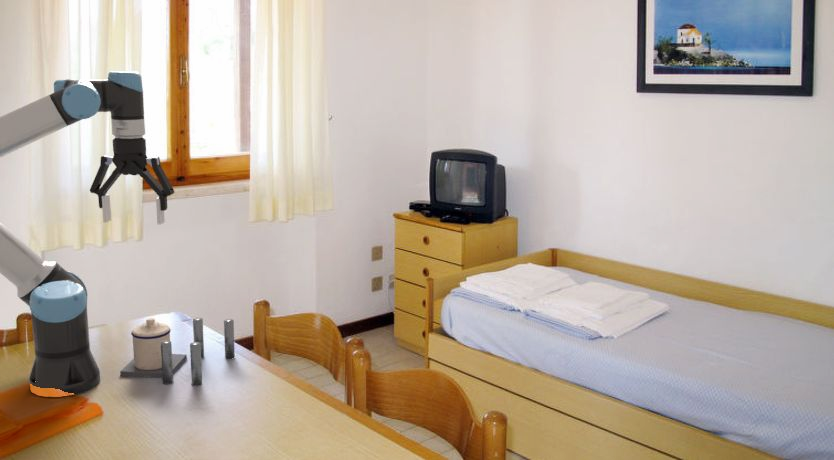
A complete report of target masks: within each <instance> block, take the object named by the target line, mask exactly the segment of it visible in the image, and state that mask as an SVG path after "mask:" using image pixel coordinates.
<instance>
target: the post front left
mask: <svg viewBox="0 0 834 460" xmlns="http://www.w3.org/2000/svg"><path fill="white" fill-rule="evenodd" d="M172 346H173V345H172V341H171V340H170V341H162V342H161V361H162V378H161V379H162V384H163V385H171V384H173V383H174V374H173V366H172V354H173V349H172Z"/></svg>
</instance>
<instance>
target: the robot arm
mask: <svg viewBox="0 0 834 460" xmlns="http://www.w3.org/2000/svg"><path fill="white" fill-rule="evenodd" d="M143 89H144V88H143V80H142V75H141V74H140V73H139V72H138V71H133V70H132V71H131V70H130V71H127V70H124V71H122V70H120V71H119V70H118V71H114V70H112V71H109V72H108V77H107V79H70V78H69V79H68V78H65V79H57V80H55V81H54V82H53V92H52V93H51V94H48V95H46V96H44V97H41V98H39V99H36V100H34V101H32V102H30V103H28V104H26V105H23V106H22V107H19V108H17V109H15V110H12V111H10V112H8V113H6V114H4V115H2V116H1V115H0V158H2V157H4V156H7V155H8V154H11V153H13V152H15V151H17V150H19V149H21V148H24V147H26V146H28V145H30V144H32V143H34V142H36V141H38V140H41V139H43V138H45V137H47V136H49V135H52V134H54V133H55V132H58V131H60V130H62V129H64V128H67V127H68V126H71V125H73V124H76V123H78V122H79V121H82V120H87V119H90V118H91V117H93V116H95V115H97V113H108V112H109V113H110V119H111V134H112V135H113V136H114V137H113V138H112V151H113V156H110V155H109V154H105V155H101V156H100V165H99V168H98V170H97V172H96V175H95V177H94V179H93V182H92V184H91V185H90V189H89V192H90V193H91V194H94V195H97V197H98V207H99V209H102V219H103V223H108V222H110V221H112V211H111V195H110V193H109V194H108V191H109V190H110V189H111V188H112V187H113V185H114V184H115V183H116V181H117V180H118V179H119V177H120V176H122V175H123V176H127V175H128V176H129V175H131V176H139V177H141V178H142V179H143V180H144V181H145V183H146V184H147V185H149V187H150V188H151V189H152V190H153V191H154V193H155V194H156V195H157V196H158V197H156V198H155V204H156V224H157V225H162V224H164V223H165V221H166V220H165V211H166V210H168V197H169V196H172V195H174V194H175V189H174V188H173V186H172V184H171V181H170V180H169V178H168V176H167V174H166V173H165V171H164V169H163V167H162V165H161V164H162V163H161V159H160V156H153V157H147V143H146V141H147V139H146V138H145V135H146V127H145V126H146V125H145V124H146V122H145V110H144V108H145V107H144V106H145V105H144V104H145V103H144V90H143ZM112 163H113V164H114V166H115V168H114V170H113V171H112V172H111V174H110V176H109V177H108V178H107V179H106V180H105V182H104V183H103V181H104V179H105V177H106V174H107V172H108V171H109V170H108V169H109V167H110V165H112ZM148 164H149V166H150V167H151V168H152V170H153V172H154V174H155V176H156V178H157V179H158V181H157V179H156V178H155V177H154V176H153V175H152V174H151V171H150V170H149V169H148V168H147V165H148ZM102 183H103V184H102ZM0 275H2V276H3V277H4V278H6V279H7V280H8V281H9V282H11V284H13V285H14V286H15V287H16V290H17V293H16V294H17V297H18V298H19V299H20V300H21V301H22V302H24V303H25V304H26V305H27V306H28V307H29V310H30V313H31V314H30V316H31V324H32V325H31V326H32V337H33V346H34V347H33V349H34V360H33V364H32V367H31V371H30V375H29V378H28V384H29V383H30V384H32V385H33V386H36V387H40V388H55V389H60V390H62V391H64V392H68V393H74V394H76V395H79V394H83V393H85V392H88V391H90V390H92V389H94V388H95V387H96V386H98V384H99V383H100V382H101V375H100V374H101V371H100V368H99V366H98V363H97V361H96V360H95V358H94V354H92V351H91V347H90V346H91V345H90V331H89V319H88V290H87V287H86V285H85V283H84V282H83V280H82V279H81V278H80V277H79V275H77V274H75V273H73V272H71V271H69V270H66V269H65V268H64V267H62V266H61V265H60V264H59V263H58V262H56V261H55V260H52V261H51V260H44V259H43V258H42V257H41V256H40V255H39V254H37V253H36V252H35V251H34V250H33V249H32V248H31V247H29V245H28V244H26V243H25V242H24V241H23V240H21V239H20V238H19V237H18V236H17V235H16V234H15V233H13V231H11V230H10V229H9V228H8V227H6V225H4V224H3V223H2V222H1V221H0ZM35 381H36V382H35Z"/></svg>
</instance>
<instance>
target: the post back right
mask: <svg viewBox="0 0 834 460" xmlns="http://www.w3.org/2000/svg"><path fill="white" fill-rule="evenodd" d="M234 323H235V321H234V319H232V318H229V319H227V318H226V319H224V320H223V333H224V335H223V336H224V337H223V338H224V358H226V360H233V359H232V358H234V357H235V356H236V354H235V324H234ZM235 358H236V357H235ZM235 358H234V359H235Z"/></svg>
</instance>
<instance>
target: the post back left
mask: <svg viewBox="0 0 834 460" xmlns="http://www.w3.org/2000/svg"><path fill="white" fill-rule="evenodd" d="M192 332H193V342H200V343H201V357H202V358H204V357H205V347H204V344H205V343H204V321H203V318H202V317H194V318H193V319H192ZM203 356H204V357H203Z"/></svg>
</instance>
